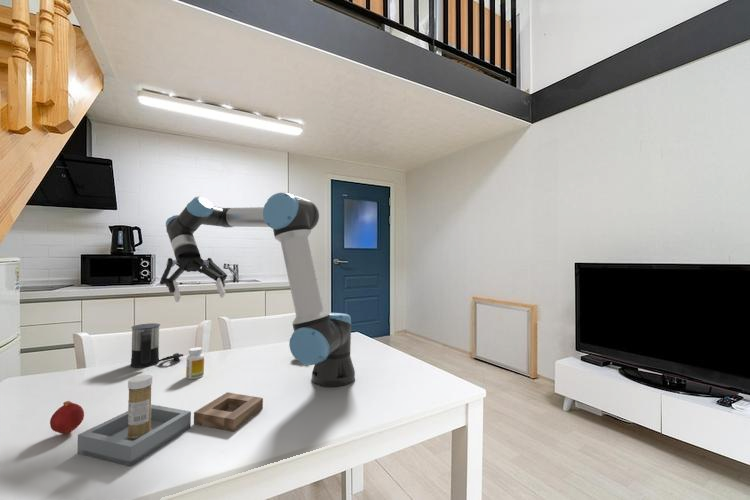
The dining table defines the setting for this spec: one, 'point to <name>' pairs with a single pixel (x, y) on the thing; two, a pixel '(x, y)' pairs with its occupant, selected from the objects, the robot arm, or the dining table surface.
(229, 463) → the dining table surface
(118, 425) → the grey tray
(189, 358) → the supplement bottle
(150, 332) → the milk frother
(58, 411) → the onion
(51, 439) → the dining table surface
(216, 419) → the walnut holder
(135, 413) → the sprinkles bottle
